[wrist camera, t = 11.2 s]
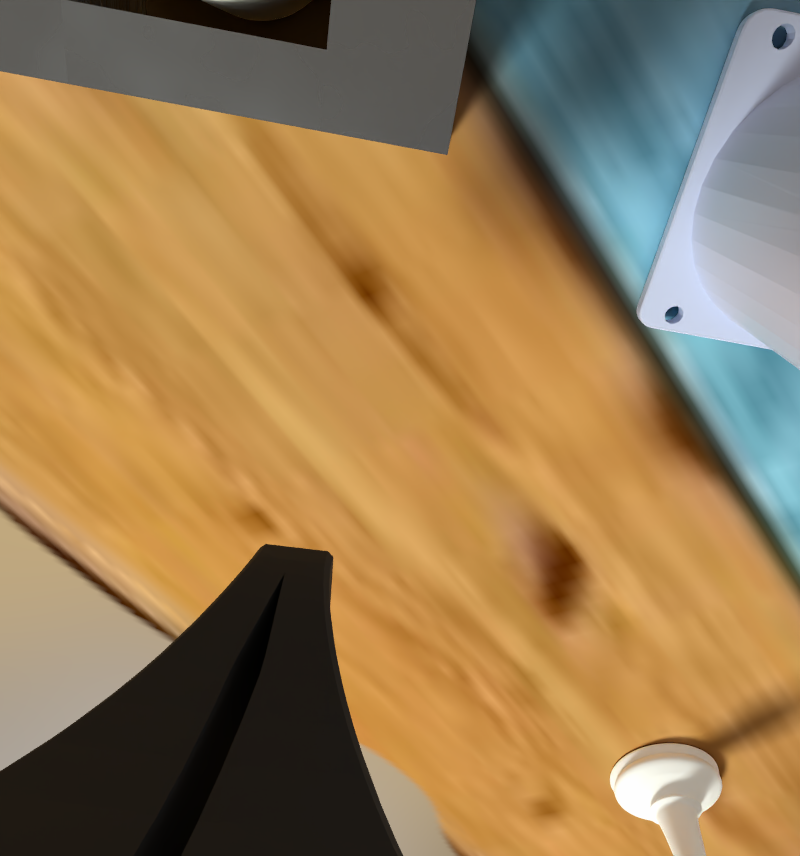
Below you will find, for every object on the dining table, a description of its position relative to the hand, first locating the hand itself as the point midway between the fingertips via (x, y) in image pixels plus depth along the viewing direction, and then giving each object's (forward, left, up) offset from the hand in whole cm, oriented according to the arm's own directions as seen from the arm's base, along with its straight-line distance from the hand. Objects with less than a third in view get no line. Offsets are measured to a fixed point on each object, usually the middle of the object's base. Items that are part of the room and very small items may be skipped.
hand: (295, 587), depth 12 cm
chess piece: (-17, +17, -10) cm, 26 cm away
